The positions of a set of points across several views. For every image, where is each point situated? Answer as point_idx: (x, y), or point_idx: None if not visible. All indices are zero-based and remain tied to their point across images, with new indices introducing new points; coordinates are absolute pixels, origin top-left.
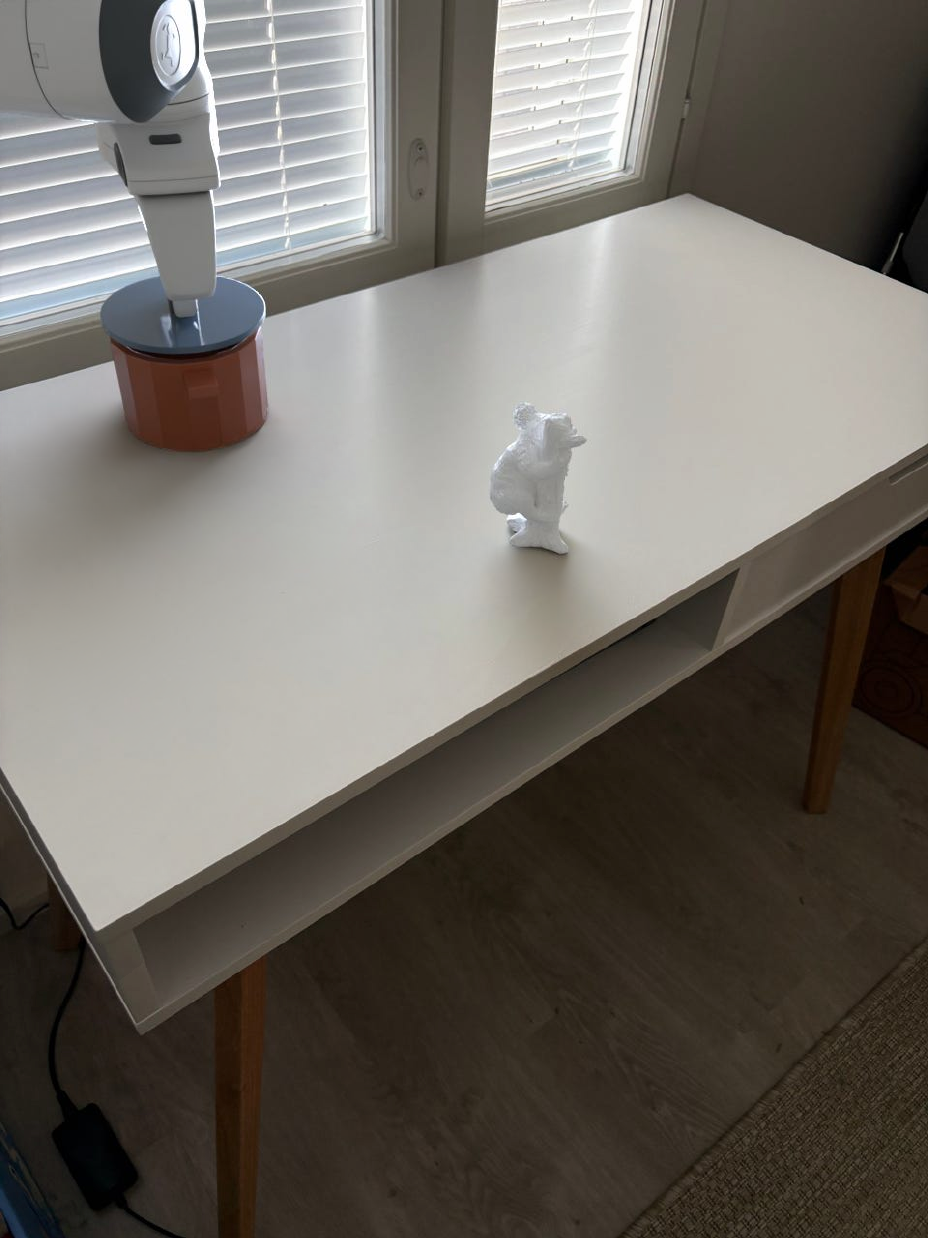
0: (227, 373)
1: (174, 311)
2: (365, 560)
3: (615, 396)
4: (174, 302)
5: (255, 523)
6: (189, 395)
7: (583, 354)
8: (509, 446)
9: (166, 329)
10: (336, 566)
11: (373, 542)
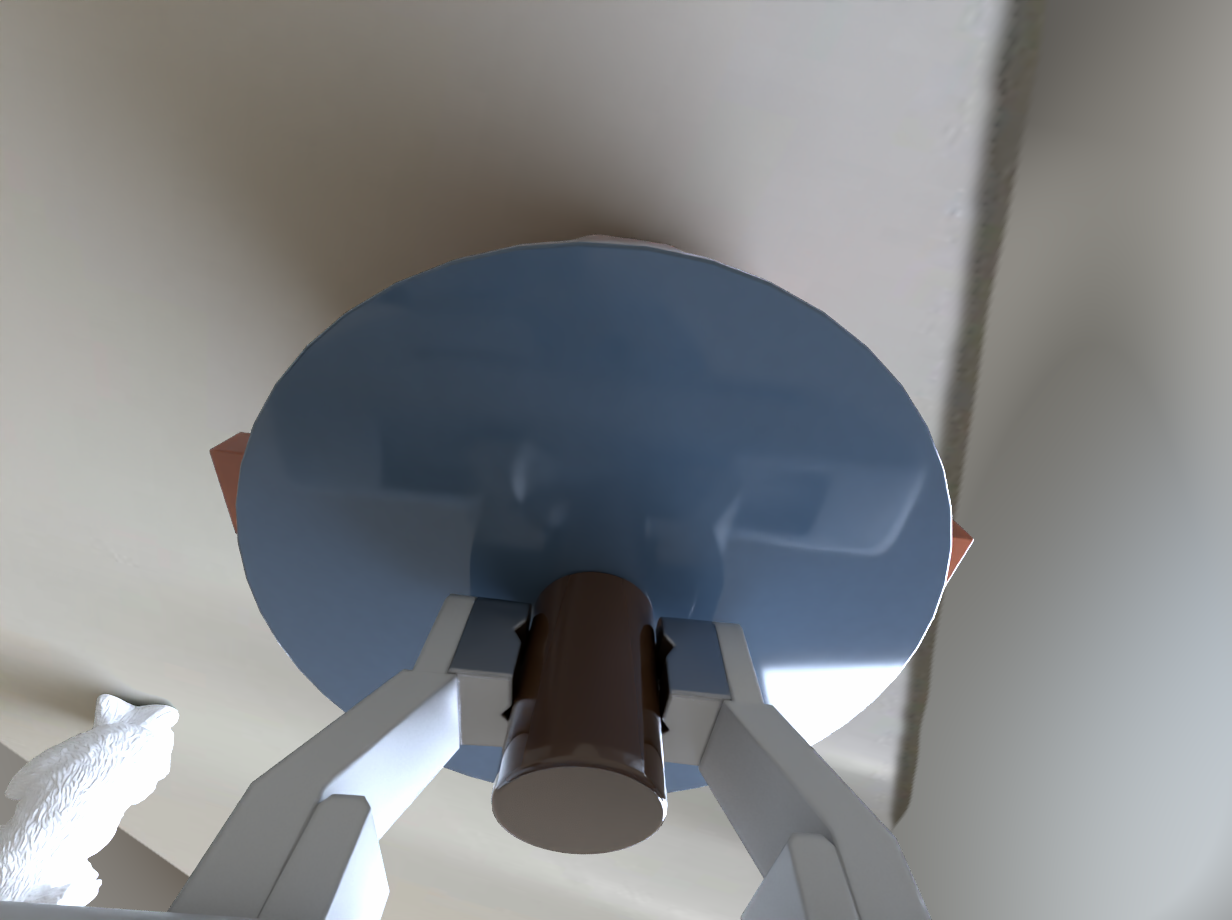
0: None
1: (442, 605)
2: (58, 529)
3: (458, 864)
4: (425, 648)
5: (162, 401)
6: (227, 439)
7: (565, 875)
8: (37, 852)
9: (412, 519)
10: (33, 485)
11: (113, 554)
